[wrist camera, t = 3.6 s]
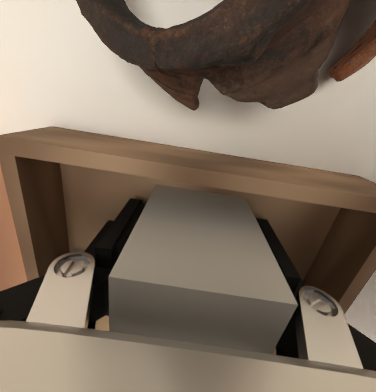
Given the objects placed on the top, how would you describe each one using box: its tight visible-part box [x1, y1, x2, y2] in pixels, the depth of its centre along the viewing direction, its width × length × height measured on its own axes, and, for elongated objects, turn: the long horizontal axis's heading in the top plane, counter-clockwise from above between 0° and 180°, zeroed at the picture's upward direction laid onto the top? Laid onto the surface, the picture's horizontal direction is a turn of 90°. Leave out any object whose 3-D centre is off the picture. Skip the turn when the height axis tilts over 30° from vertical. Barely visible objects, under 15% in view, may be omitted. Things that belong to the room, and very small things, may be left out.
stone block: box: [109, 184, 298, 354], centre depth 9 cm, size 4×4×6 cm
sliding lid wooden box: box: [0, 127, 376, 331], centre depth 12 cm, size 16×19×4 cm
